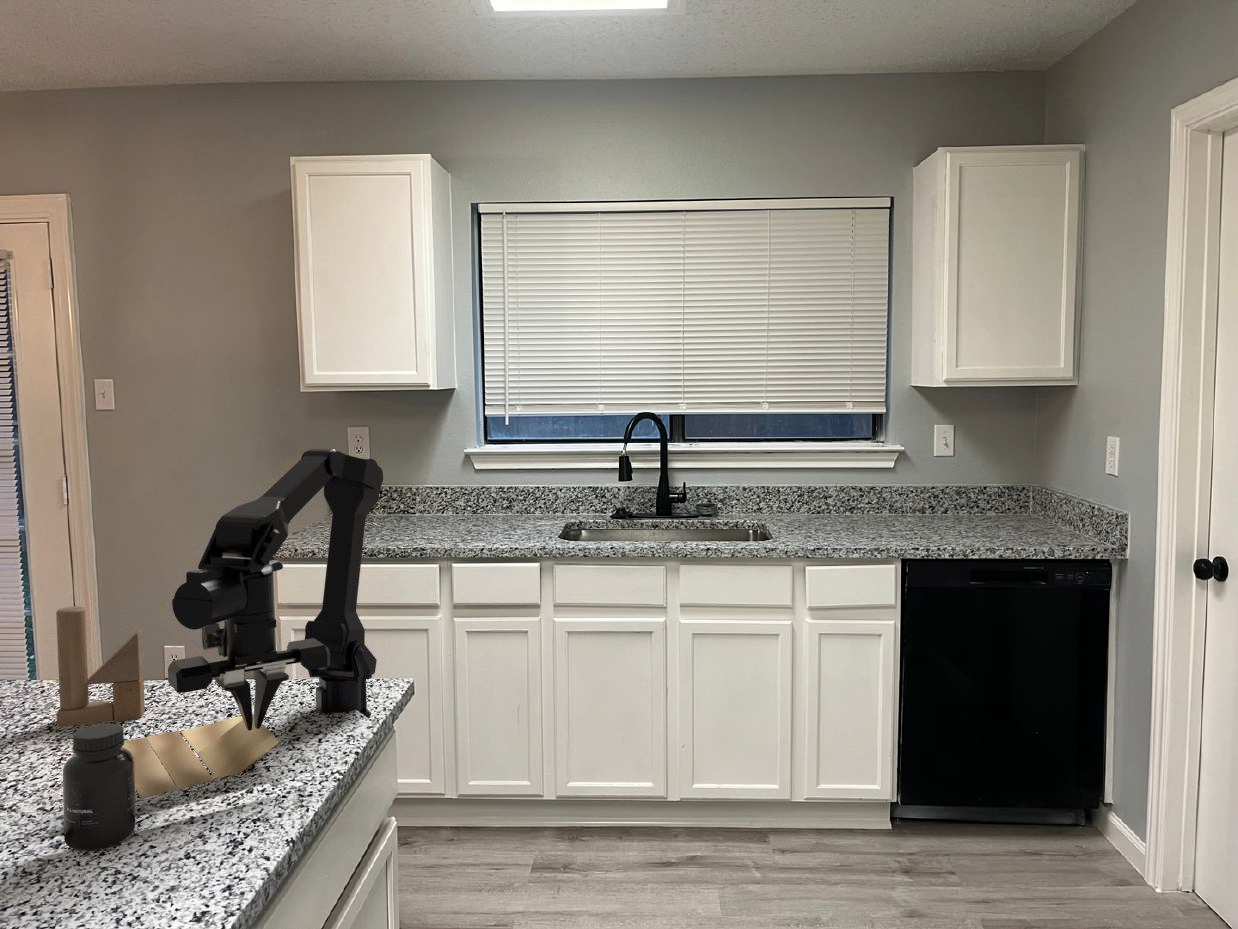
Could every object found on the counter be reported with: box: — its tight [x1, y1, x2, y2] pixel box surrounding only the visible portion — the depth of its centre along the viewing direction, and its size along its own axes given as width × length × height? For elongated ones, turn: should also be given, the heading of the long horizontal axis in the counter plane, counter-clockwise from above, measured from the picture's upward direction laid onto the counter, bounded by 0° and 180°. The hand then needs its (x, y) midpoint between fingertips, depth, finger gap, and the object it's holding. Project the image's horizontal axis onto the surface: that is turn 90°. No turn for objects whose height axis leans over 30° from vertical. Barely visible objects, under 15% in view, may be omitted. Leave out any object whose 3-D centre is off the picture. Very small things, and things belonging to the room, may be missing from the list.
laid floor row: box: [122, 730, 215, 799], centre depth 115 cm, size 8×20×2 cm, turn 38°
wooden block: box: [55, 606, 146, 728], centre depth 130 cm, size 4×11×18 cm, turn 110°
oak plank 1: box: [180, 715, 243, 754], centre depth 124 cm, size 8×10×2 cm
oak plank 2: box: [197, 713, 280, 779], centre depth 116 cm, size 8×10×2 cm
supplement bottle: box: [62, 723, 136, 851], centre depth 97 cm, size 7×7×12 cm
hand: (253, 728), depth 116 cm, fingers closed
